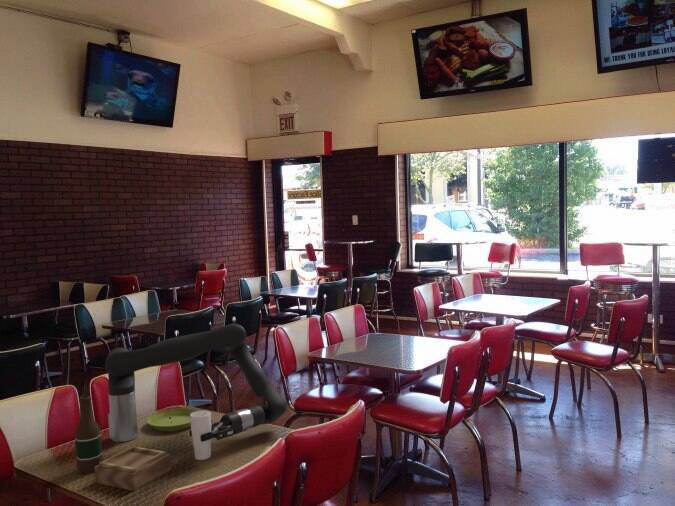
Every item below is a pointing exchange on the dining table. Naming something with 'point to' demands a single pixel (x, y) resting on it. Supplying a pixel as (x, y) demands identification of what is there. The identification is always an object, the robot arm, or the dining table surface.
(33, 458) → the dining table surface
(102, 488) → the dining table surface
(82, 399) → the beer bottle
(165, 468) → the wooden box
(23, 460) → the dining table surface
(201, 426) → the drinking glass
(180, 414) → the saucer
